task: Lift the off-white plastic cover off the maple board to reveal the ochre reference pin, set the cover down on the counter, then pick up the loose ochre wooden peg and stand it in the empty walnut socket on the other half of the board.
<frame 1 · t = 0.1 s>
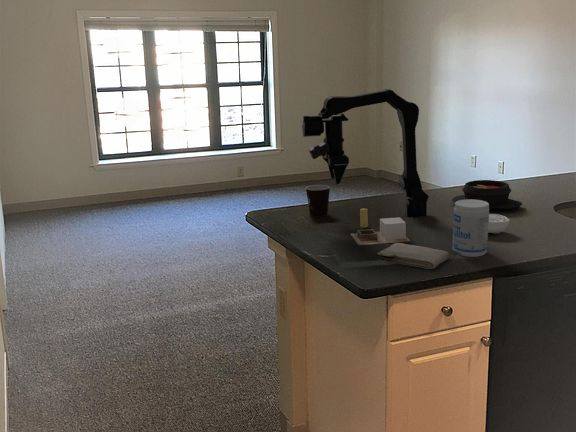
hand: (335, 181, 215), 15 cm above the worktop, tool pointing down, fingers open, 9 cm apart
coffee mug: (319, 213, 232), on the worktop
casserole: (485, 207, 231), on the worktop
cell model: (489, 233, 200), on the worktop
peg: (364, 230, 209), on the worktop
cover: (392, 236, 197), point 1 cm above the worktop, touching board
supplement tub: (469, 253, 182), on the worktop
washcloth: (412, 260, 180), on the worktop
board: (379, 241, 197), on the worktop
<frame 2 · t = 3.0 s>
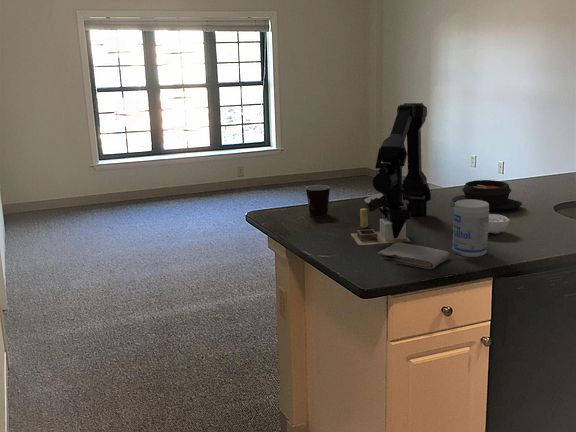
hand: (392, 234, 196), 2 cm above the worktop, tool pointing down, fingers closed on cover, 6 cm apart
cover: (392, 236, 197), point 1 cm above the worktop, touching board, gripper
everything else where it was.
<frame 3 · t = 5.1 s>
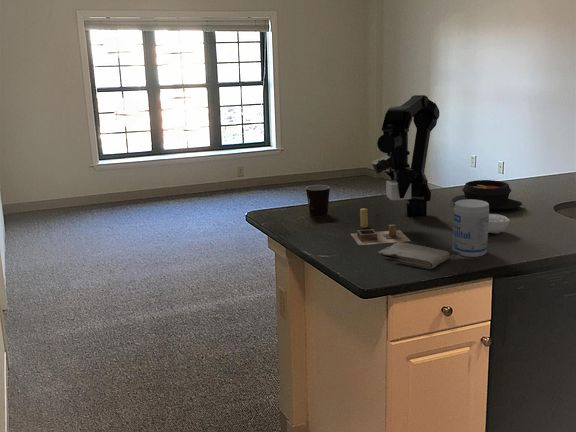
hand: (398, 195, 205), 11 cm above the worktop, tool pointing down, fingers closed on cover, 6 cm apart
cover: (398, 197, 205), point 11 cm above the worktop, touching gripper
everything else where it was.
when the fingers open (2 cm above the worktop, at t = 7.2 s): cover drops 1 cm, on the worktop.
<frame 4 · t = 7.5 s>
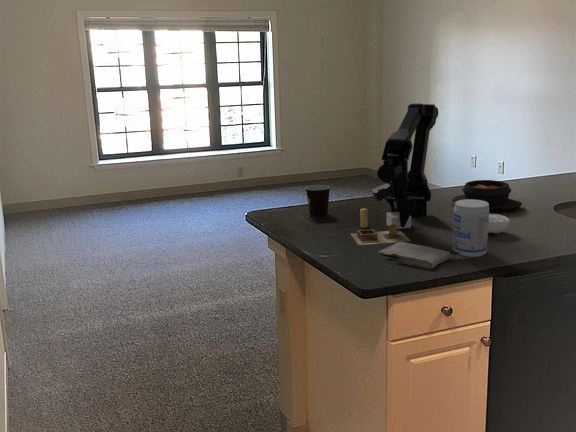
hand: (398, 223, 207), 2 cm above the worktop, tool pointing down, fingers open, 9 cm apart
cover: (398, 229, 208), on the worktop
everything else where it was.
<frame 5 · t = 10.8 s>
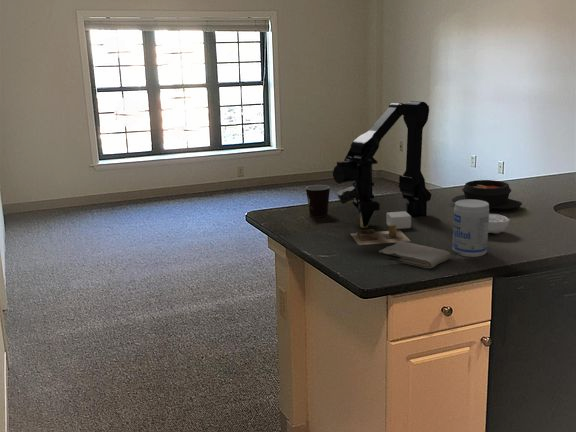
hand: (364, 225, 208), 2 cm above the worktop, tool pointing down, fingers closed on peg, 2 cm apart
peg: (364, 230, 209), on the worktop, touching gripper
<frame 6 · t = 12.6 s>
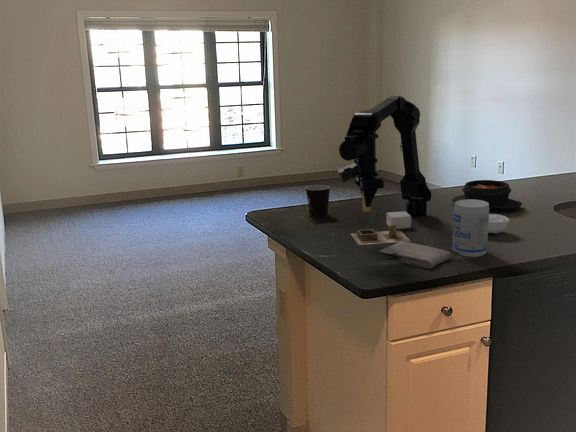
hand: (366, 205, 193), 11 cm above the worktop, tool pointing down, fingers closed on peg, 2 cm apart
peg: (366, 210, 194), point 10 cm above the worktop, touching gripper
when the fingers open (4 cm above the worktop, at t = 14.4 s): peg drops 1 cm, resting on board.
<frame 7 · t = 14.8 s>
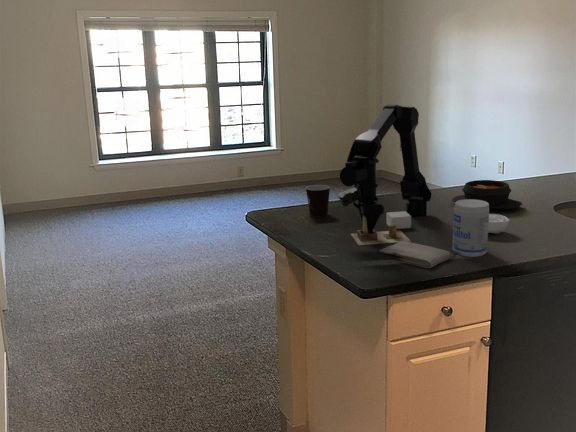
hand: (367, 229, 195), 4 cm above the worktop, tool pointing down, fingers open, 7 cm apart
peg: (366, 237, 196), point 1 cm above the worktop, touching board
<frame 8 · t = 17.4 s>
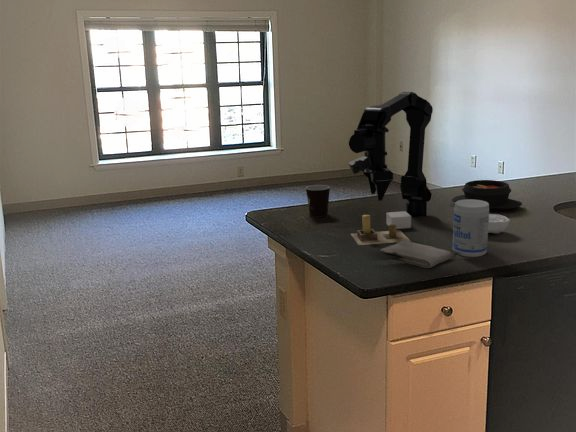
hand: (376, 197, 201), 12 cm above the worktop, tool pointing down, fingers open, 9 cm apart
at the end: peg 0.1 cm from the target spot on the board, point 1.4 cm above the board's base; peg tilted 2°; cover moved 12.2 cm from its start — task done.
